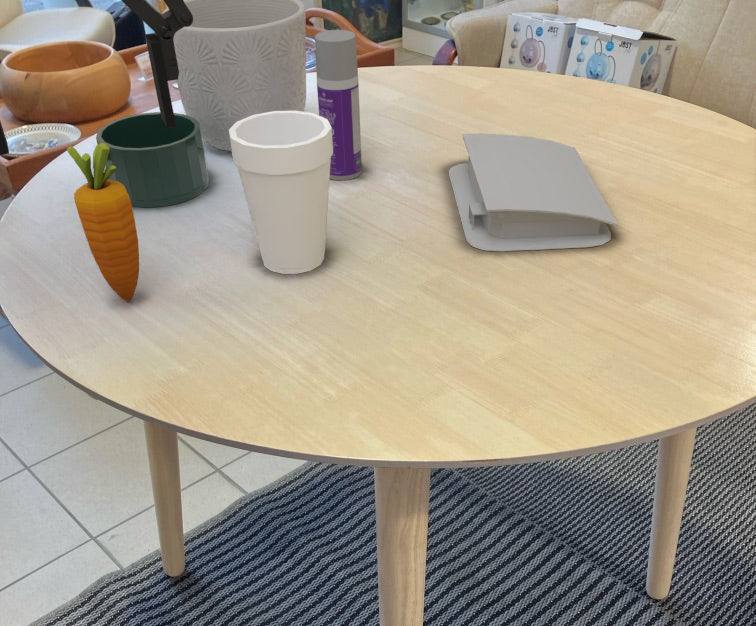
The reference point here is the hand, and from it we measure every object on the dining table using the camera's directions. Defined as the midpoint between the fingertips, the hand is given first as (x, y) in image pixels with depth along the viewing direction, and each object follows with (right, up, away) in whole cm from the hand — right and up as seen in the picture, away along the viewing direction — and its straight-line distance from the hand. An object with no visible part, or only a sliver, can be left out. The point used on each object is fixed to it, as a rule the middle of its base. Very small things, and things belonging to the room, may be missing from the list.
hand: (88, 135), depth 71 cm
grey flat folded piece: (+41, +3, +25) cm, 48 cm away
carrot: (0, -11, +11) cm, 16 cm away
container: (+20, +9, +32) cm, 39 cm away
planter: (+7, +16, +40) cm, 44 cm away
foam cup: (+16, -6, +16) cm, 23 cm away
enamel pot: (-2, +7, +30) cm, 31 cm away
